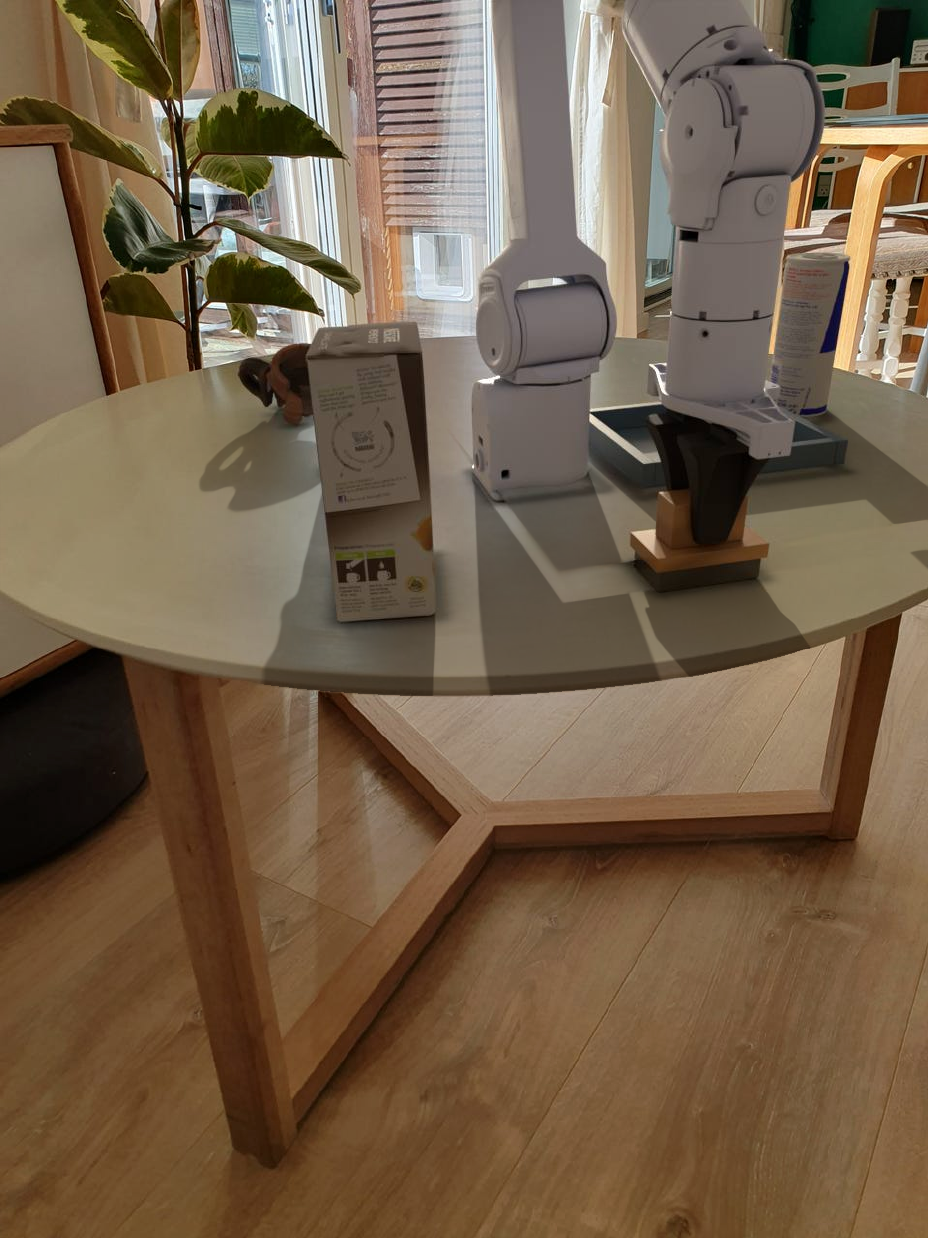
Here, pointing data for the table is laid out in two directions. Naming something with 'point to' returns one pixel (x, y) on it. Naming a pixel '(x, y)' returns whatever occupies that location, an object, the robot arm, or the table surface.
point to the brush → (694, 549)
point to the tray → (637, 457)
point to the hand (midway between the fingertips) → (699, 531)
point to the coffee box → (374, 468)
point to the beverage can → (808, 330)
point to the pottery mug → (281, 381)
